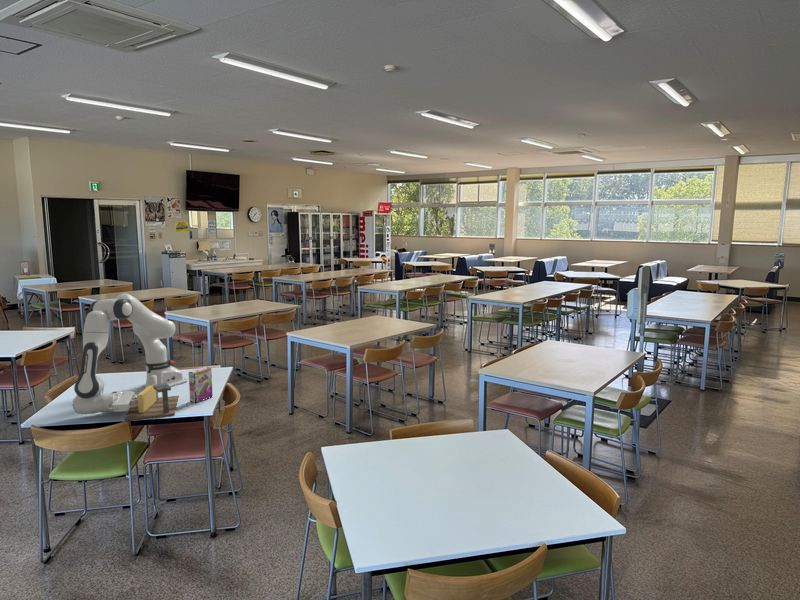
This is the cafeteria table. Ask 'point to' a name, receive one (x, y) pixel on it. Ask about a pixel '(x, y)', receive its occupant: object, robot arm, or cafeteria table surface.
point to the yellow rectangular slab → (147, 395)
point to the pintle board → (156, 406)
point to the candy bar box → (200, 384)
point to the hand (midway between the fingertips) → (142, 399)
